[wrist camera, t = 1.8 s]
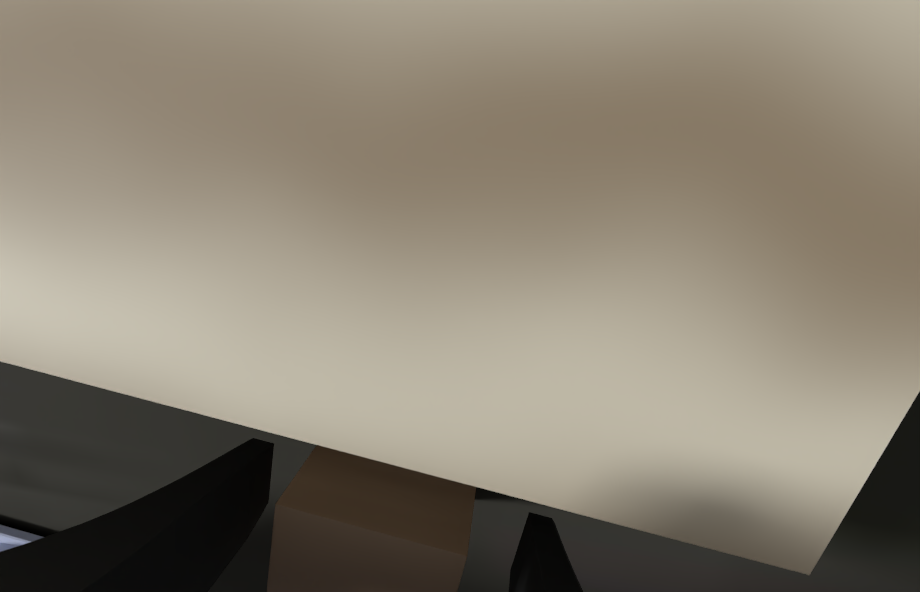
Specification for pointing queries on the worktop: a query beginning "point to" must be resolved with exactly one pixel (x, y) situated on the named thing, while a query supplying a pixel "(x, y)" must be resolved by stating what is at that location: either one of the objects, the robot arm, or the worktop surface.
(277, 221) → the cabinet
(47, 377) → the worktop surface
